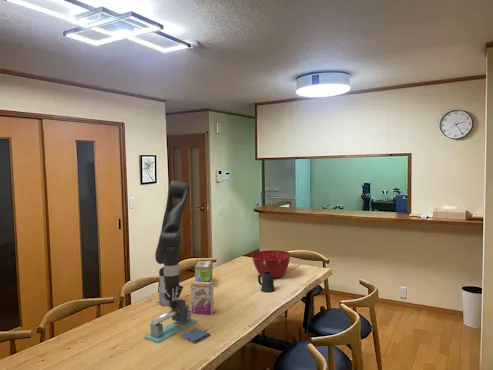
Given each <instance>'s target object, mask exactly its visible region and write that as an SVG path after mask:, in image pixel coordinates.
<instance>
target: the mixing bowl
mask: <svg viewBox="0 0 493 370" xmlns="http://www.w3.org/2000/svg"><path fill="white" fill-rule="evenodd" d="M250 255H251V259H252V261H253V264H254V267H255V268H256V271H257V273H258V275H263V272H267V271H268V272H272V274H273V276H274V279H278V278H281V277H282V276H283V275H284V274H285V273H286V271H287V269H288V267H289V264H290V261H291V260H290V259H291V256H292V253H291V252H289V251H285V250H279V249H278V250H277V249H276V250H275V249H271V250H270V249H269V250H261V251H256V252H254V253H252V254H250Z"/></svg>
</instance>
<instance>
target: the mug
mask: <svg viewBox="0 0 493 370" xmlns="http://www.w3.org/2000/svg"><path fill="white" fill-rule="evenodd" d="M274 281H275V278H274V276H273V274H272V272H268V271H267V272H263V275H260V274H258V275H257V282H258V284H259V285H260V286H261V287H260V291H261V292H262V293H269V294H270V293H273V292H275V291H276V287H275V284H274V283H275V282H274Z"/></svg>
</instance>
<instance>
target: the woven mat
mask: <svg viewBox="0 0 493 370" xmlns="http://www.w3.org/2000/svg"><path fill="white" fill-rule="evenodd" d="M210 336H211V332H210V331H207V330H206V331H205V330H203V329H201V328H198V327H194V328H193V329H191V330H189V331H187V332H184V333H183V334H181V336H180V338H181V339H182V340H184V341H188V342H189V343H192V344H194V345H195V344H197V343H199V342H201V341H203V340H205V339H206V338H208V337H210Z"/></svg>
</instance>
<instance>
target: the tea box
mask: <svg viewBox="0 0 493 370" xmlns="http://www.w3.org/2000/svg"><path fill="white" fill-rule="evenodd" d="M194 281H199V282H212V283H213V261H212V260H202V261H201V260H198V261H197V263H196V264H195V266H194Z"/></svg>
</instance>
